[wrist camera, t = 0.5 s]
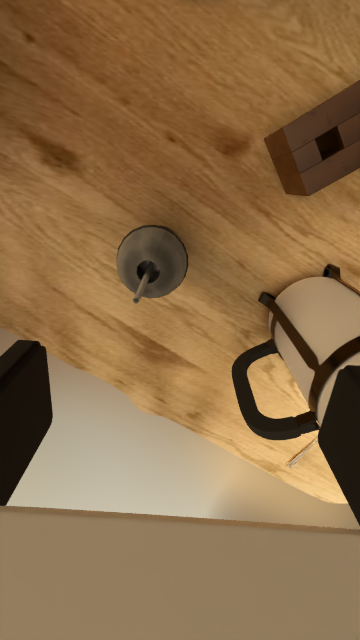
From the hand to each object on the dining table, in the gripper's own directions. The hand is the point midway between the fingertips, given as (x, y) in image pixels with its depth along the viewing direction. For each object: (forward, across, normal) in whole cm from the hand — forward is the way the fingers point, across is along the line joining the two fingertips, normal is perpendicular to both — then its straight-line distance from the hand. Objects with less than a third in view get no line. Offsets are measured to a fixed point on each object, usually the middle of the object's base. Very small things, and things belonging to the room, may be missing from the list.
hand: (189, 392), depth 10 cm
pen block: (+35, -17, -13) cm, 41 cm away
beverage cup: (+35, +3, +2) cm, 35 cm away
